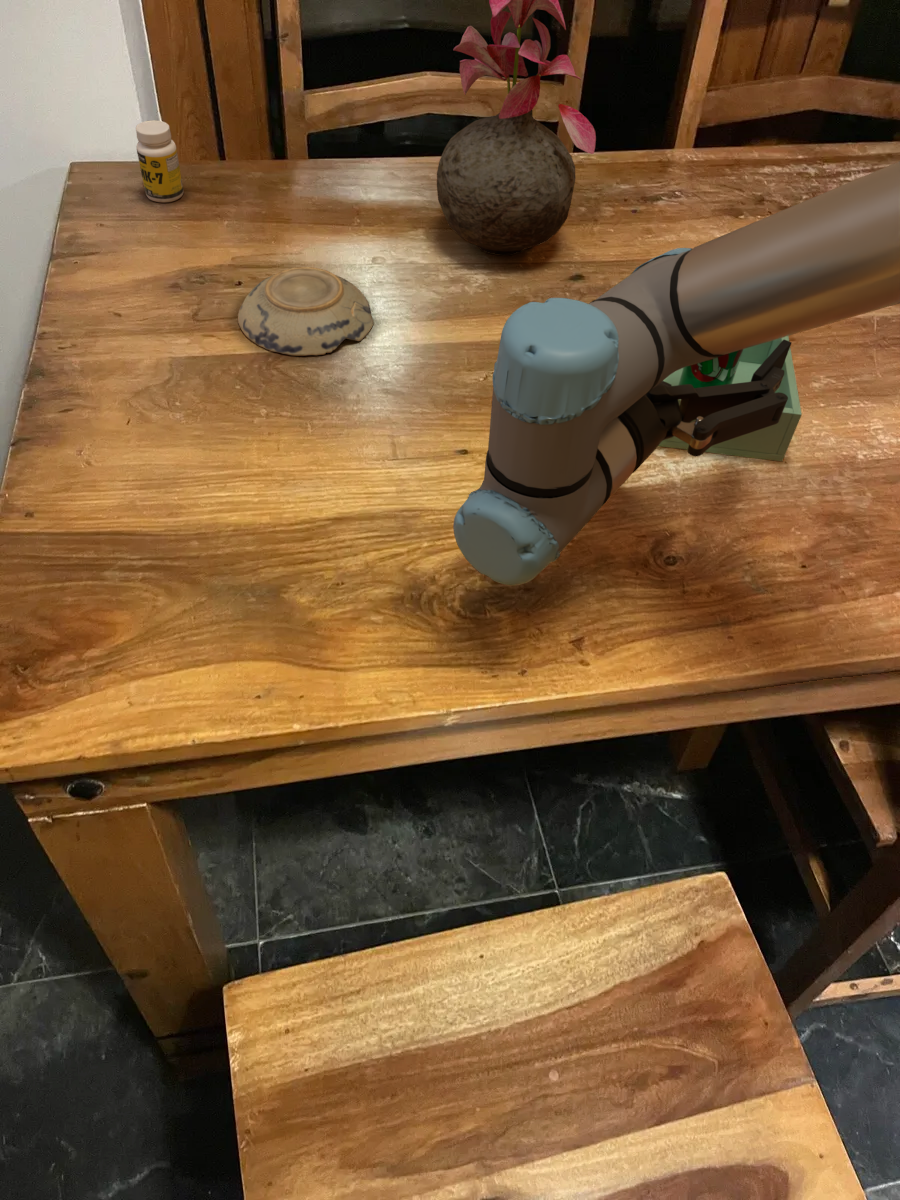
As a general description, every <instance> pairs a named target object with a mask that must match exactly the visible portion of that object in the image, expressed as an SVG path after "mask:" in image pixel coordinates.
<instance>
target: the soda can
mask: <svg viewBox="0 0 900 1200" xmlns="http://www.w3.org/2000/svg"><path fill="white" fill-rule="evenodd" d="M742 352H743V349H742V350H738V351H735V352H731V353H728V354H725V355H723V356H720V357H717V358H713V359H710V360H707V361H704V362H700V363H697V364H693V365H690V366H687V367H684V368H683V371H682V374H681V378H680V381H679V385H685V384H691V385H692V386H693V387H694V388H701V387H709V386H718V385H726V384H732V382H733V379H734V376H735V373H736V370H737V367H738V364H739V361H740V358H741V355H742Z"/></svg>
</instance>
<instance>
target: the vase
mask: <svg viewBox="0 0 900 1200" xmlns="http://www.w3.org/2000/svg"><path fill="white" fill-rule="evenodd" d="M488 3H489V7H490V10H491V18H490V34H491V35H490V36H491V37H492V41H493V43H494V44H488V43H487V41H486V40H485V38H484V37H483V36H482V35H481V34H480V32H479V31H478V30H477V29H476V28H474V27H473V26H472V25H469V26H467V28H466V29H465V31H464V33H463V35H462V37H461V39H460V42H459V44H458V45H456V46H454V48H452V49H453V51H455V52H459V53H463V54H465V55H468V56H470V57H472V58H474V59H466V58H465V59H462V60H459V75H460V83H461V87H462V91H463V94H464V96H467V95H466V94H467V93H468V91H469V90H470V88H471V87H472V86H473V84H474V83H476V81H477V80H478V79H480V78H482V77H485V76H487V77H492V78H496V79H499V80H501V81H504V82H505V81H506V83H507V88H506V89H507V94H506V97H505V98H504V101H503V103H502V105H501V109H500V111H499V113H497V114H495V115H492V116H488V117H483V118H480V119H476V120H474V121H473V122H471V123H468V125H466V126H465V127H463V128H462V129H460V130H459V131H457V132H456V133H455V134H453V136H452V137H451V138H450V139H448V140H449V141H448V142H447V144H446V145H445V147H444V149H443V152H442V154H441V155H440V159H439V162H438V165H437V169H436V192H437V193H436V194H437V201H438V204H439V205H440V208H441V210H442V211H441V212H442V213H443V216H444V218H445V220H446V223H447V225H448V227H449V228H450V229H451V230H452V231H453V232H455V233H456V234H457V235H458V236H459V237H460V238H462V239H463V240H465V241H466V242H468V243H470V244H471V245H474V246H476V247H477V248H478V249H479V250H481V252H485V253H487V254H490V255H498V256H509V255H510V256H511V255H515V254H519V253H522V251H524V250H527V249H530V248H533V247H536V246H539V245H541V244H544V243H547V242H548V241H549V240H550V239H551V238H553V237H554V236H555V235H556V234H557V233H558V232H559V231H560V230H561V228H562V227H563V225H564V224H565V221H567V219H568V215H569V212H570V209H571V204H572V199H573V195H574V189H575V184H576V165H575V161H574V159H573V157H572V154H571V153H570V152H569V150H568V148H567V147H566V145H565V143H564V142H563V141H562V140H561V139H560V137H559V136H558V135H557V134H555V133H554V132H553V130H550V128H548V127H547V126H545V125H544V124H543V123H541V122H540V121H538V120H537V119H535V118H534V115H533V110H534V108H535V107H536V105H537V104H538V101H539V98H540V94H541V77H544V76H552V75H567V76H570V77H572V78H575V79H578V80H580V81H582V78H581V77H579V76H578V75H576V72H575V69H574V66H573V64H572V61H571V59H570V57H569V56H568V54H563V53H562V54H560V55H557V56H556V57H554V58H553V59H552V60H551V61H550V60H547V58H548V55H549V53H550V50H551V34H550V32H549V28H547V27H546V25H545V24H544V23H543V22H541V20H538V19H537V18H535V17H533V16H532V14H533V13H534V12H535V11H536V10H542V11H545V12H547V13H548V14H550V15H551V16H553V17H554V18H555V20H557V22H558V23H559V24H560V25H561V26H562V27H563V29H564V30H565V31H567V28H566V22H565V19H564V18H565V17H564V14H563V11H562V9H561V4H560V2H559V0H488ZM507 7H508V10H509V11H505V8H507ZM530 16H532V17H531V18H532V21H533V23H534V24H535V28H536V29H537V31H538V34H539V37H540V38H539V39H540V41H541V42H539V40H537V39H535V40H532V39H531V38H529V39H528V38H527V39H524V41H523V42H522V43H521V39H522V28H523V26H524V25H525V23H526V22H527V20H528V19H529V17H530ZM511 17H512V21H513V23H514V24H513V25H514V27H515V28H516V34H515V33H513V32H511V31H509V32H507V33H506V34H504V37H503V39H502V36H503V33H504V29H505V27H506V25H507V23H508V22H509V19H510V18H511ZM524 58H526V59H528V60H530V61H531V62H534V63H537V64H538V65H537V66H538V70H537V73H536V75H532V76H529V73H528V70H527V67H526V64H525V61H524V60H525V59H524ZM510 76H512V83H511V78H510ZM518 76H521V77H525V78H524V79H522V80H520V81H517V79H518ZM557 106H558V110H559V113H560V116H561V119H562V121H563V125H564V126H565V129H566V131H567V133H568V135H569V137H570V140H571V141H572V143H573V144H574V146H575V147H576V148H578V149H580V150H581V151H583V152H585V153H588V154H591V155H593V154H594V153H595V149H596V143H597V142H596V141H597V136H596V130H595V128H594V126H593V124H592V123H591V122H590V121H589V119H588V118H587V117H586V116H584V115H583V113H581V112H580V111H579V110H578V109H576V108H574V107H571V106H570V105H566V104H563V103H559V104H558V105H557Z"/></svg>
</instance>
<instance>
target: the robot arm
mask: <svg viewBox="0 0 900 1200" xmlns="http://www.w3.org/2000/svg"><path fill="white" fill-rule="evenodd" d="M899 304H900V160H899V161H897V162H894V163H892V164H890V165H887V166H885V167H883V168H880V169H878V170H875V171H872V172H871V173H868V174H866V175H864V176H861V177H858V178H856V179H854V180H852V181H849V182H847V183H845V184H842V185H839V186H838V187H835V188H833V189H829V190H827V191H825V192H823V193H821V194H818V195H815V196H813V197H810V198H809V199H806V200H804V201H801V202H799V203H797V204H794V205H791V206H789V207H787V208H785V209H782V210H780V211H777V212H775V213H773V214H770V215H768V216H766V217H763V218H761V219H758V220H756V221H754V222H751V223H748V224H746V225H744V226H742V227H739V228H736V229H735V230H732V231H730V232H727V233H725V234H723V235H720V236H718V237H715V238H712V239H711V240H709V241H706V242H704V243H701V244H699V245H696V246H695V247H693V248H691V247H677V248H673V249H671V250H668V251H665V252H664V253H662V254H659V255H656V256H655V257H653V258H651V259H649V260H647V261H646V262H643V263H642V264H640V265H639V266H637V267H636V268H634V270H633V271H632V273H630V274H629V275H628V276H626V277H625V278H624V279H623V280H621V281H620V282H618V283H617V284H615V285H614V286H612V287H610V288H609V289H608V290H607V291H605V292H604V293H603V294H601V295H600V296H598V297H597V298H596V299H594V300H591V301H590V302H589V303H588V302H584V301H582V300H578V299H572V298H568V297H549V298H547V299H546V300H545V301H544V302H540V301H539V302H538V301H530V302H528V303H525V304H523V305H521V306H520V307H518V308H517V309H515V310H514V311H513V312H512V313H511V314H510V316H509V317H507V319H506V321H505V323H504V325H503V327H502V329H501V334H500V339H499V340H500V341H499V347H498V352H497V358H496V361H495V362H494V367H493V373H492V397H491V409H490V410H491V411H490V419H489V420H490V421H489V431H488V432H489V433H488V446H487V451H486V454H485V462H484V463H485V465H484V477H483V480H482V482H481V484H480V486H479V488H477V489H476V490H472V491H471V492H470V493H469V494H468V496H467V498H466V500H465V501H464V502H463V503H462V505H461V506H460V507H459V508H458V510H457V511H456V514H455V515H454V518H453V527H452V528H453V536H454V539H455V542H456V544H457V547H458V549H459V551H460V552H461V555H463V557H464V558H465V560H466V561H467V562H468V563H469V564H470V565H471V566H472V567H473V568H474V569H475V570H476V571H477V572H479V573H480V574H481V575H484V576H486V577H488V578H490V579H491V580H492V581H493V582H496V583H498V584H502V585H507V586H519V585H520V586H521V585H525V584H527V583H530V582H531V581H533V580H534V579H535V578H536V577H537V576H538V575H539V574H540V573H542V572H543V571H544V570H545V569H546V568H547V567H548V566H549V565H550V564H551V563H554V562H556V561H557V560H558V559H559V558H560V556H561V553H562V552H563V551H564V550H565V549H566V548H567V546H568V545H569V544H570V543H571V542H572V540H574V539H575V538H576V537H577V535H578V534H579V533H580V532H581V531H582V530H583V528H584V527H585V526H586V525H587V524H588V523H589V522H590V521H591V519H593V518H594V516H595V515H596V514H597V513H598V512H599V511H600V510H601V508H602V507H603V506H604V505H605V504H606V503H607V502H608V501H609V500H610V499H611V498H612V497H613V496H614V495H615V494H616V493H617V492H618V491H619V489H621V487H622V486H623V485H624V484H625V483H626V481H628V480H629V478H630V477H631V476H632V474H634V473H635V472H636V471H638V469H639V468H640V467H641V466H642V465H643V464H644V462H645V461H646V460H647V459H648V458H649V457H650V456H651V455H652V454H653V453H654V452H655V451H656V449H658V447H659V446H658V445H659V444H660V443H661V442H662V441H663V440H665V439H668V438H672V437H674V436H675V437H677V438H679V439H680V440H682V441H684V442H686V443H688V444H689V446H688V449H687V453H688V454H689V456H692V457H700V456H702V455H703V454H704V453H706V452H705V451H706V450H707V449H709V448H710V447H711V446H712V445H715V444H718V443H721V442H724V441H727V440H730V439H733V438H736V437H739V436H742V435H745V434H748V433H751V432H754V431H757V430H760V429H763V428H766V427H769V426H772V425H775V424H777V423H778V422H779V420H780V417H781V415H782V412H783V410H784V407H785V405H786V402H787V400H788V397H787V395H785V394H784V393H780V392H777V393H775V392H776V390H777V389H778V388H779V387H780V384H781V381H782V379H783V376H784V370H782V367H783V364H784V362H785V359H786V356H787V354H788V351H789V349H790V348H791V346H792V342H791V341H790V340H789V341H787V340H783V341H782V342H781V343H780V344H779V345H778V347H777V348H776V349H775V350H774V351H773V352H772V353H771V354H770V356H769V357H768V358H767V359H766V360H765V361H764V362H763V363H762V365H761V366H760V367H759V368H758V369H757V370H756V371H755V372H754V374H753V376H752V379H751V382H744V383H735V384H726V385H718V386H709V387H701V388H694V387H693V386H692V385H691V384H685V385H677V386H671V384H669V383H667V382H664V381H663V380H664V379H665V378H667V377H668V376H669V375H670V374H672V373H673V372H675V371H677V370H679V369H681V368H684V367H687V366H690V365H693V364H697V363H700V362H704V361H707V360H710V359H713V358H717V357H720V356H723V355H725V354H728V353H731V352H735V351H738V350H742V349H745V348H749V347H752V346H755V345H759V344H762V343H766V342H769V341H773V340H776V339H779V338H783V337H786V336H789V337H790V336H793V335H796V334H800V333H804V332H806V331H811V330H813V329H817V328H820V327H823V326H827V325H830V324H834V323H838V322H841V321H843V320H844V321H845V320H848V319H851V318H854V317H858V316H861V315H865V314H868V313H872V312H875V311H878V310H882V309H884V308H889V307H892V306H895V305H899ZM679 399H681V402H680V406H679V403H678V400H679ZM693 420H696V421H693ZM691 421H693V422H691ZM690 422H691V423H690Z"/></svg>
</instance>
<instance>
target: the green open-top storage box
mask: <svg viewBox="0 0 900 1200" xmlns="http://www.w3.org/2000/svg"><path fill="white" fill-rule="evenodd" d="M783 340H787V341H789V342H790V336H786V337H783V338H779V339H776V340H773V341H769V342H766V343H762V344H759V345H755V346H752V347H749V348H745V349H743V352H742V355H741V358H740V361H739V364H738V367H737V370H736V373H735V376H734V379H733V382H732V384H735V383H744V382H751V379H752V376H753V374H754V372H755V371H756V370H757V369H758V368H759V367H760V366H761V365H762V363H763V362H764V361H765V360H766V359H767V358H768V357H769V356H770V354H771V353H772V352H773V351H774V350H775V349H776V348H777V347H778V345H779V344H780V343H781V342H782V341H783ZM782 370H784V376H783V379H782V381H781V384H780V387H779V388H778V389H777V390H776V392H775V393H777V392H780V393H784V394H785V395H787V397H788V400H787V402H786V405H785V407H784V410H783V412H782V415H781V417H780V420H779V422H778V423H777V424H775V425H772V426H769V427H766V428H763V429H760V430H757V431H754V432H751V433H748V434H745V435H742V436H739V437H736V438H733V439H730V440H727V441H724V442H721V443H718V444H715V445H712V446H711V447H710V448H709V449H707V450H706V451H705V452H704V453H711V454H719V455H727V456H734V457H735V456H736V457H743V458H751V459H760V460H767V461H773V462H774V461H775V462H783V461H784V458H785V456H786V453H787V451H788V448H789V447H790V444H791V443H792V440H793V437H794V434H795V431H796V430H797V428H798V425H799V422H800V420H801V417H802V416H803V413H802V407H801V402H800V396H799V390H798V385H797V384H798V383H797V379H796V378H797V377H796V371H795V367H794V359H793V354H792V349H791V347H790V349H789V351H788V354H787V356H786V359H785V362H784V364H783V367H782ZM682 371H683V368H681V369H679V370H677V371H675V372H673V373H672V374H670V375H669V376H668V377H667V378H665V379H664V380H663V381H664V382H667V383H669V384H671V386H677V385H679V381H680V378H681V374H682ZM680 402H681V399H679V400H678V403H679V406H680ZM693 421H696V420H693ZM693 421H691V422H693ZM691 422H690V423H691ZM688 446H689V444H688V443H686V442H684V441H682V440H680V439H679V438H677V437H675V436H674V437H672V438H668V439H665V440H663V441H662V442H661V443H660V444H659V445H658V447H663V448H671V449H679V450H687V449H688Z"/></svg>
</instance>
